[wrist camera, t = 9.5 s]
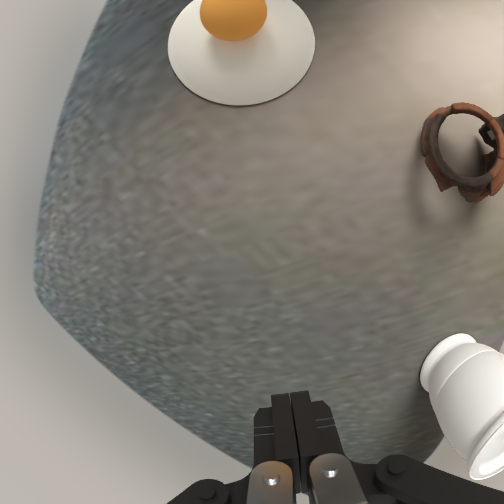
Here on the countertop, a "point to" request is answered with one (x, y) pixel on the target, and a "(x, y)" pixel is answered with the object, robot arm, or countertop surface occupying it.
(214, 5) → the ball
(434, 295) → the countertop surface
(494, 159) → the pottery mug
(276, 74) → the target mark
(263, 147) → the countertop surface
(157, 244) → the countertop surface
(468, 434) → the jar
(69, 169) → the countertop surface
